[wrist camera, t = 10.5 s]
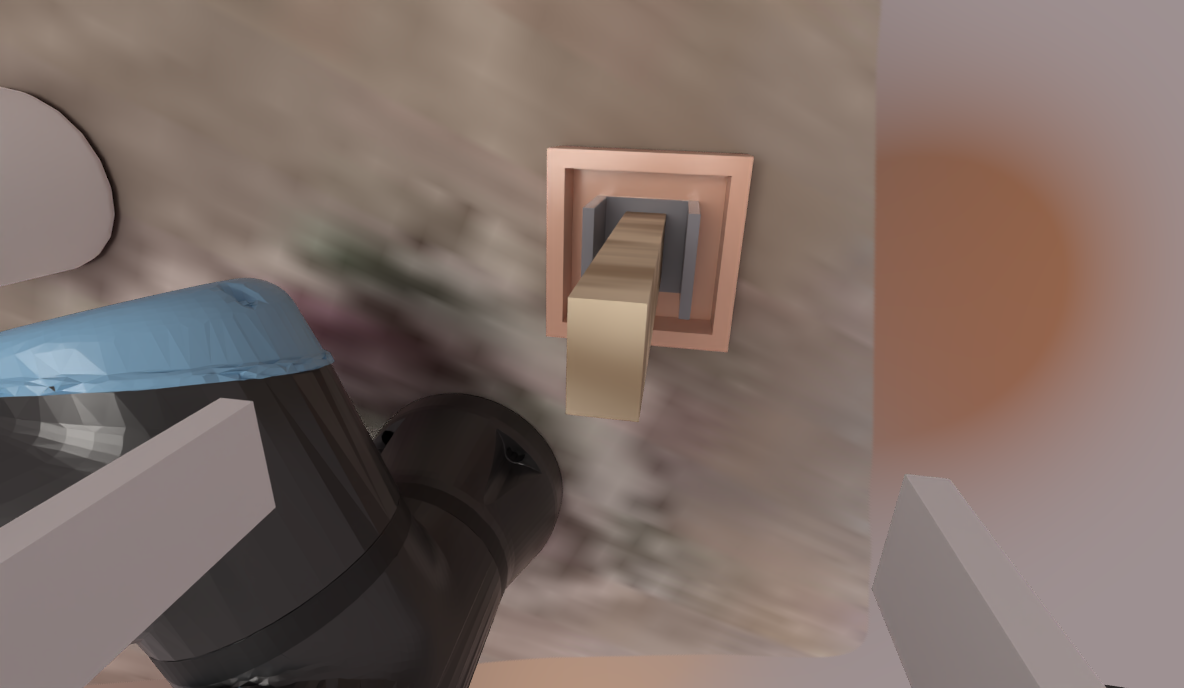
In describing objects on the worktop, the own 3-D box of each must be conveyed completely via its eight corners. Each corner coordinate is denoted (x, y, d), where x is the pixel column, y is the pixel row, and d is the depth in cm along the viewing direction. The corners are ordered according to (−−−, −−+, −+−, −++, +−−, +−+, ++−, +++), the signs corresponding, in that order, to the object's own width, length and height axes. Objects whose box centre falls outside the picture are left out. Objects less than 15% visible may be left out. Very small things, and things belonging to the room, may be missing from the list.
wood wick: (660, 279, 35) (638, 422, 18) (622, 276, 35) (565, 414, 18) (666, 213, 33) (647, 303, 16) (626, 211, 33) (567, 297, 17)
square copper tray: (723, 332, 36) (730, 370, 31) (558, 318, 38) (535, 351, 32) (747, 153, 32) (759, 160, 27) (560, 145, 34) (535, 149, 28)
